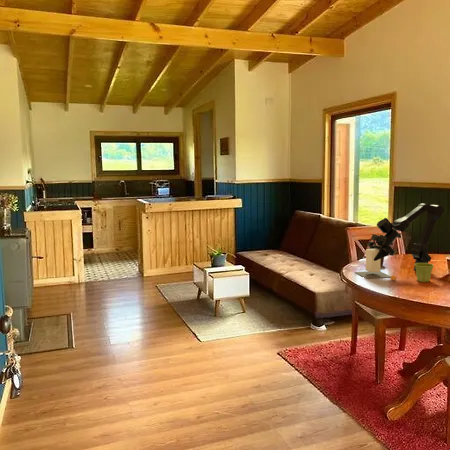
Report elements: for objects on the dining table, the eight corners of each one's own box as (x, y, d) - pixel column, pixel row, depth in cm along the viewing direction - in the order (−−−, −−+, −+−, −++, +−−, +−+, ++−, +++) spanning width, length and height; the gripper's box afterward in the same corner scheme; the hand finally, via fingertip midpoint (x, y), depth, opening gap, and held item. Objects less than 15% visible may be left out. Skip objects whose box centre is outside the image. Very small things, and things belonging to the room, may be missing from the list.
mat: (379, 271, 259) (379, 270, 259) (392, 277, 244) (392, 276, 244) (354, 272, 257) (354, 271, 257) (365, 278, 242) (365, 278, 242)
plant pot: (431, 283, 230) (432, 267, 229) (412, 281, 235) (412, 265, 234) (434, 279, 238) (435, 263, 237) (415, 277, 243) (415, 262, 242)
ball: (394, 279, 239) (395, 274, 239) (397, 281, 236) (397, 275, 236) (389, 280, 239) (389, 274, 238) (392, 281, 236) (392, 275, 235)
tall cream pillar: (374, 269, 254) (374, 248, 252) (380, 271, 248) (380, 250, 247) (365, 270, 252) (366, 249, 251) (371, 272, 247) (372, 250, 245)
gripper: (370, 227, 257) (352, 247, 256) (390, 231, 240) (372, 252, 238) (381, 239, 261) (364, 259, 259) (402, 244, 243) (384, 266, 241)
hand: (371, 259), depth 249 cm, fingers closed on tall cream pillar, 6 cm apart
